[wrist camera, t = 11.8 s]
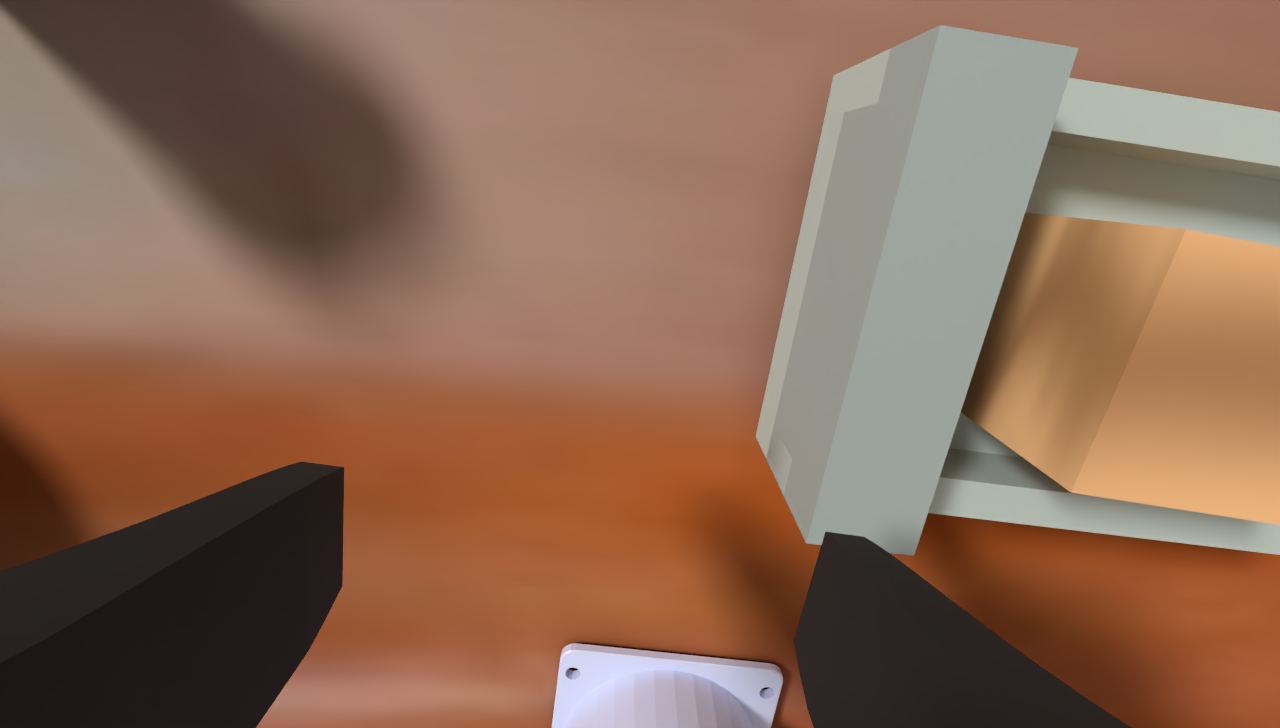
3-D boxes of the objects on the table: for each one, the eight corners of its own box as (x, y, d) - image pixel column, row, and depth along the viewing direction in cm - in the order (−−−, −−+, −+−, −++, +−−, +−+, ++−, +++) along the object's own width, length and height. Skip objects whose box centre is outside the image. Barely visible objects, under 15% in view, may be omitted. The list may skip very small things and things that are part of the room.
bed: (1165, 475, 20) (1405, 611, 14) (749, 422, 19) (806, 543, 13) (1307, 158, 17) (1696, 151, 11) (822, 81, 16) (940, 24, 10)
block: (1115, 426, 17) (1310, 529, 12) (942, 398, 16) (1071, 492, 12) (1195, 245, 15) (1456, 279, 10) (1007, 210, 15) (1185, 229, 10)
